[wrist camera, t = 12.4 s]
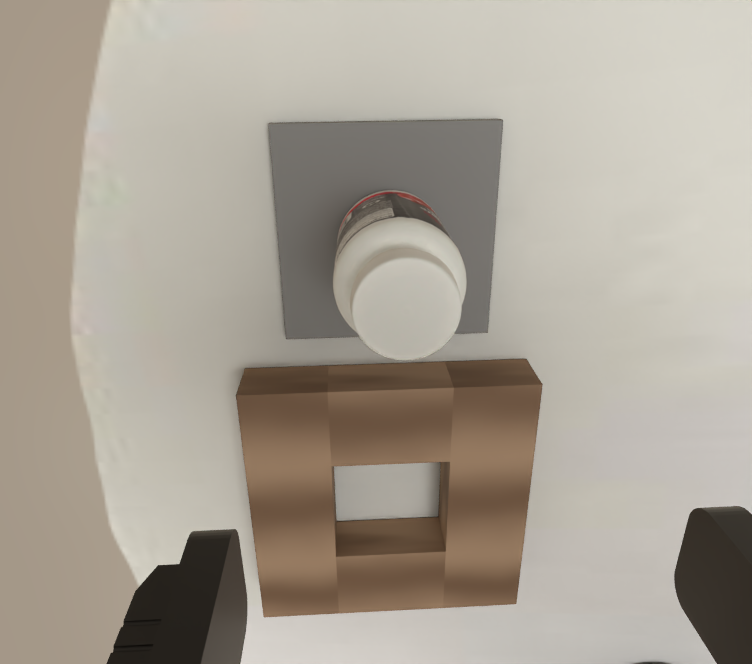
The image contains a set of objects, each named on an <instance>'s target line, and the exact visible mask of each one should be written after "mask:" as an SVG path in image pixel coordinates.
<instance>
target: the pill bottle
mask: <svg viewBox="0 0 752 664" xmlns="http://www.w3.org/2000/svg"><path fill="white" fill-rule="evenodd" d="M466 284H467V280H466V270H465V266H464V263H463V259H462V257H461V255H460V252H459V250H458V248H457V246H456V245H455V243H454V242H453V241H452V239H451V237H450V236H449V234H448V232H447V231H446V229H445V227H444V226H443V224H442V222H441V221H440V219H439V217H438V216H437V215H436V213H435V212H434V211H433V209H432V208H431V207H430V206H429V205H428V204H427V203H426V202H424V201H423V200H422V199H420V198H419V197H417V196H415V195H413V194H410V193H408V192H404V191H398V190H385V191H380V192H376V193H373V194H370V195H368V196H366V197H364V198H362V199H361V200H360V201H358V202H357V203H356V204H355V205H354V206H353V207H352V208H351V209H350V210H349V211H348V213H347V214H346V216H345V217H344V219H343V221H342V224H341V226H340V229H339V233H338V239H337V248H336V256H335V266H334V273H333V291H334V296H335V300H336V304H337V306H338V309H339V311H340V313H341V315H342V316H343V318H344V319H345V321H346V322H347V323H348V325H349V326H350V327H351V328H352V329H353V330H354V331H356V332H357V333H358V335H359V337H360V338H361V340H362V341H363V342H364V343H365V344H366V345H367V346H368V347H369V348H370V349H371V350H373V351H374V352H376V353H377V354H379V355H382V356H384V357H387V358H390V359H394V360H416V359H420V358H423V357H426V356H429V355H430V354H433V353H435V352H436V351H438V350H439V349H440V348H442V347H443V346H444V345H445V344H446V343H447V342H448V341H449V340H450V339H451V337H452V336H453V334H454V333H455V331H456V329H457V327H458V324H459V321H460V318H461V311H462V304H463V301H464V297H465V293H466Z"/></svg>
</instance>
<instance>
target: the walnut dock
mask: <svg viewBox="0 0 752 664" xmlns="http://www.w3.org/2000/svg"><path fill="white" fill-rule="evenodd" d="M541 392H542V383H541V381H540V380H539V378H538V377H537V375H536V374H535V372H534V370H533V369H532V367H531V366H530V364H529V362H528V361H527V359H509V360H479V361H450V362H421V363H391V364H362V365H333V366H303V367H274V368H245V369H244V373H243V376H242V379H241V382H240V385H239V388H238V391H237V394H236V399H237V407H238V415H239V423H240V431H241V439H242V447H243V455H244V463H245V471H246V479H247V487H248V495H249V503H250V511H251V519H252V527H253V535H254V543H255V551H256V559H257V567H258V575H259V583H260V591H261V599H262V607H263V615H264V617H278V616H297V615H316V614H335V613H354V612H373V611H392V610H412V609H431V608H450V607H469V606H488V605H507V604H516V602H517V593H518V585H519V577H520V568H521V560H522V551H523V543H524V535H525V526H526V518H527V510H528V501H529V493H530V485H531V476H532V468H533V459H534V451H535V443H536V434H537V426H538V418H539V409H540V401H541ZM427 462H441V466H440V490H439V514H438V517H428V518H406V519H384V520H362V521H340V522H336V502H335V482H334V466H355V465H379V464H403V463H427Z"/></svg>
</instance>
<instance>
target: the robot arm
mask: <svg viewBox="0 0 752 664" xmlns="http://www.w3.org/2000/svg"><path fill="white" fill-rule="evenodd" d="M674 580H675V589H676V593H677V597H678V600H679V602H680V605H681V607H682V609H683V610H684V612H685V614H686V615H687V617H688V618H689V620H690V622H691V623H692V625H693V626H694V628H695V629H696V631H697V633H698V634H699V636H700V637H701V639H702V641H703V642H704V644H705V645H706V647H707V648H708V650H709V652H710V653H711V655H712V656H713V658H714V659H715V661H716V663H717V664H752V514H751V513H750V512H749V511H747V510H746V509H745V508H742V507H739V506H731V507H711V508H696V509H694V510H693V511H692V512H691V513H690V515H689V518H688V522H687V526H686V530H685V534H684V538H683V542H682V545H681V549H680V553H679V557H678V561H677V565H676V569H675V576H674ZM246 624H247V592H246V585H245V578H244V571H243V564H242V557H241V549H240V542H239V536H238V532H237V530H236V529H231V530H210V531H193V532H191V534H190V535H189V538H188V540H187V543H186V546H185V549H184V552H183V555H182V559H181V562H180V564H176V565H158V566H157V567H156V568H155V569H154V571H153V572H152V573H151V574H150V575H149V576H148V577H147V579H146V580H145V581H144V582H143V583H142V584H141V585H140V587H139V588H138V589H137V590H136V591H135V593H134V596H133V599H132V601H131V604H130V606H129V609H128V611H127V614H126V616H125V619H124V625H123V627H121V629H120V631H119V634H118V636H117V639H116V642H115V644H114V650H113V653H111V654H110V657H109V659H108V662H107V664H240V662H241V656H242V650H243V644H244V639H245V632H246Z"/></svg>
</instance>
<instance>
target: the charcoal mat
mask: <svg viewBox="0 0 752 664" xmlns="http://www.w3.org/2000/svg"><path fill="white" fill-rule="evenodd" d="M502 130H503V120H501V119H479V120H418V121H357V122H295V123H269V137H270V149H271V161H272V173H273V186H274V198H275V210H276V222H277V235H278V247H279V259H280V272H281V284H282V296H283V308H284V321H285V333H286V339H309V338H340V337H359V335H358V333H357V332H356V331H354V330H353V329H352V328H351V327H350V326H349V325H348V323H347V322H346V321H345V319H344V318H343V316H342V315H341V313H340V311H339V309H338V306H337V304H336V300H335V296H334V291H333V273H334V266H335V256H336V248H337V239H338V233H339V229H340V226H341V224H342V221H343V219H344V217H345V216H346V214H347V213H348V211H349V210H350V209H351V208H352V207H353V206H354V205H355V204H356V203H357V202H358V201H360V200H361V199H362V198H364V197H366V196H368V195H370V194H373V193H376V192H380V191H385V190H398V191H404V192H408V193H410V194H413V195H415V196H417V197H419V198H420V199H422V200H423V201H424V202H426V203H427V204H428V205H429V206H430V207H431V208H432V209H433V211H434V212H435V213H436V215H437V216H438V217H439V219H440V221H441V222H442V224H443V226H444V227H445V229H446V231H447V232H448V234H449V236H450V237H451V239H452V241H453V242H454V243H455V245H456V246H457V248H458V250H459V252H460V255H461V257H462V259H463V263H464V266H465V270H466V280H467V284H466V293H465V297H464V301H463V304H462V311H461V318H460V321H459V324H458V327H457V329H456V331H455V333H454V334H465V333H488V322H489V308H490V295H491V281H492V267H493V253H494V240H495V226H496V212H497V199H498V185H499V171H500V158H501V144H502Z"/></svg>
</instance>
